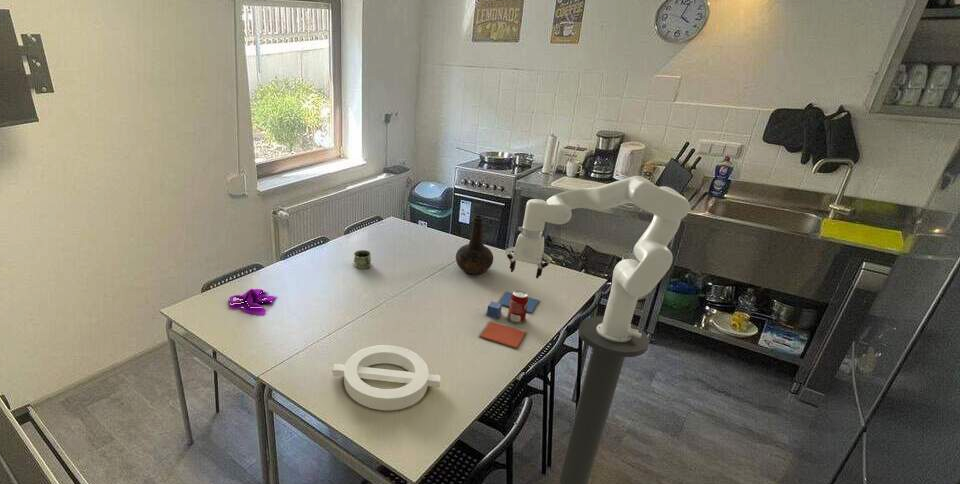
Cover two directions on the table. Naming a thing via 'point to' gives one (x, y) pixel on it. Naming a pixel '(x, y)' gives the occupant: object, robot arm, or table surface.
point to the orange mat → (503, 334)
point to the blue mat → (530, 307)
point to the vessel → (362, 258)
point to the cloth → (252, 301)
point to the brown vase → (475, 251)
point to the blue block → (494, 309)
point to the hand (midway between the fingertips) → (524, 273)
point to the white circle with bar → (386, 377)
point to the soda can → (518, 306)
